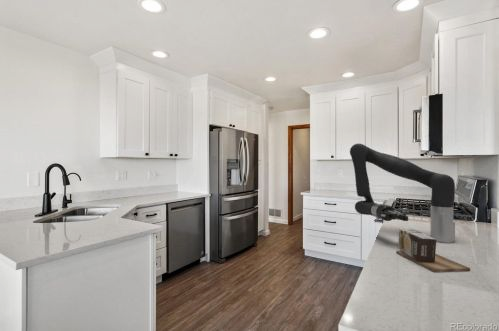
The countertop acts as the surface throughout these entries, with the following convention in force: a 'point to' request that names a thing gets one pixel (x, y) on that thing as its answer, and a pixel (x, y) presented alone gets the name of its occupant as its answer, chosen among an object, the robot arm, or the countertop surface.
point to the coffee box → (417, 245)
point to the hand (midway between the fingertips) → (406, 218)
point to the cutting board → (437, 264)
